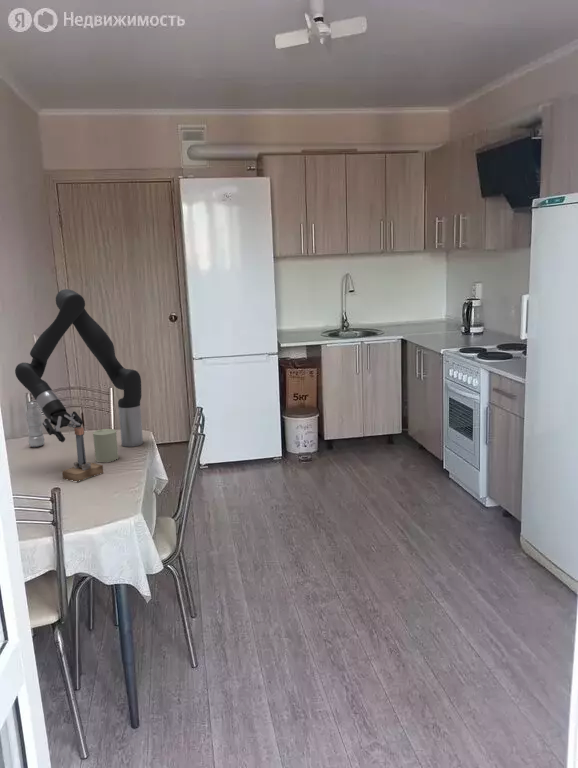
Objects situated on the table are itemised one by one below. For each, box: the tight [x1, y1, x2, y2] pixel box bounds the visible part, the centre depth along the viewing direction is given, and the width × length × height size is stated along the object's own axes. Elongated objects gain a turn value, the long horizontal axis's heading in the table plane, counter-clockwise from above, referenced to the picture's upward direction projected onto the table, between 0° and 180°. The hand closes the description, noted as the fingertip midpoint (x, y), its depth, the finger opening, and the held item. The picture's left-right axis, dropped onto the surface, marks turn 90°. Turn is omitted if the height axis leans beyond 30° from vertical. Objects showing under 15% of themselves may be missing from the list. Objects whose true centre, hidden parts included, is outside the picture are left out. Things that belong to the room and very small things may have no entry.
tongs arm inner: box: [77, 426, 87, 464], centre depth 232 cm, size 1×3×15 cm, turn 57°
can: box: [92, 428, 120, 463], centre depth 252 cm, size 9×9×12 cm
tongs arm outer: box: [73, 428, 84, 468], centre depth 231 cm, size 1×3×15 cm, turn 56°
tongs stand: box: [61, 461, 104, 482], centre depth 233 cm, size 12×8×5 cm, turn 147°
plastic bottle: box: [25, 400, 45, 448], centre depth 272 cm, size 6×7×20 cm
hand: (73, 438), depth 233 cm, fingers open, 8 cm apart
